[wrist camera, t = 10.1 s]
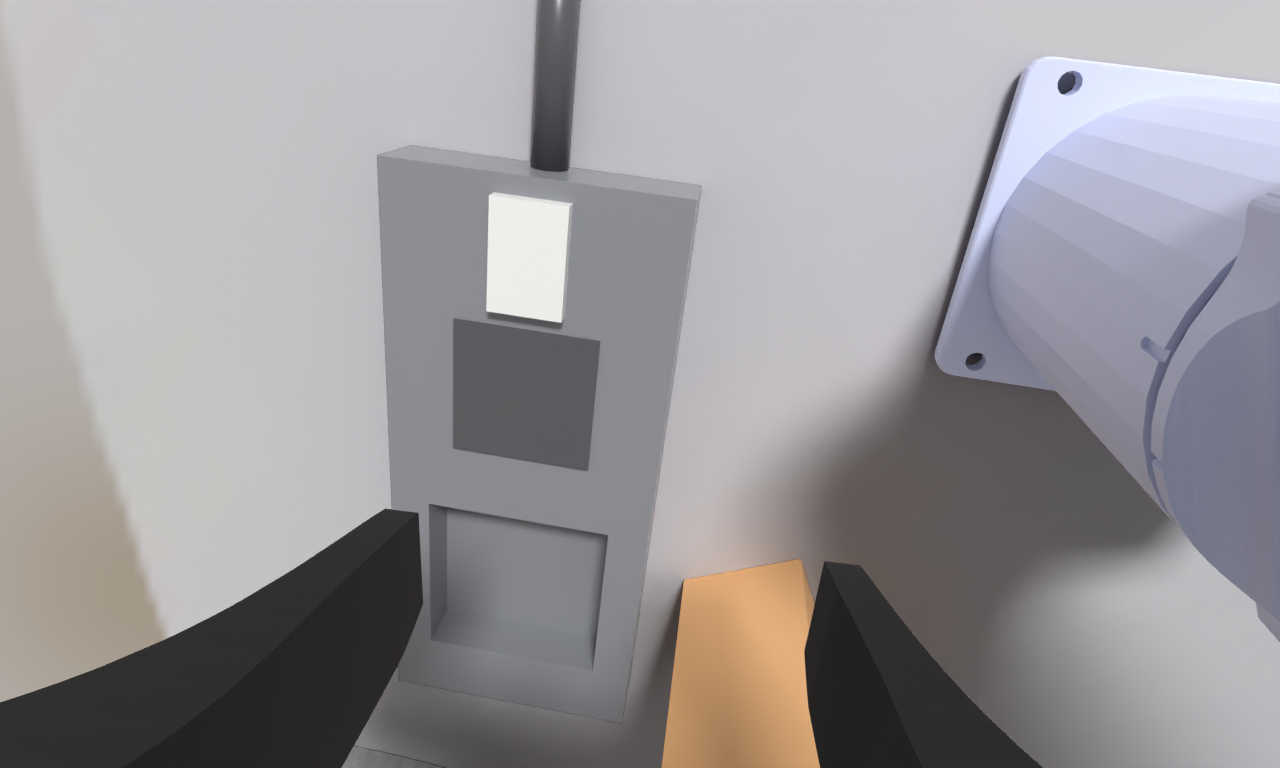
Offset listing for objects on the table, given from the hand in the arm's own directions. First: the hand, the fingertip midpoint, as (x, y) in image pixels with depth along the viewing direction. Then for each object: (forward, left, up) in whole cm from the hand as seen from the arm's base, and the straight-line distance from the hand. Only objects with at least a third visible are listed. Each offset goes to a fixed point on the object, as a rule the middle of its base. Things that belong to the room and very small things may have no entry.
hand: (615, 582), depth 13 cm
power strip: (+4, +1, -10) cm, 10 cm away
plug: (-4, +9, -10) cm, 14 cm away
